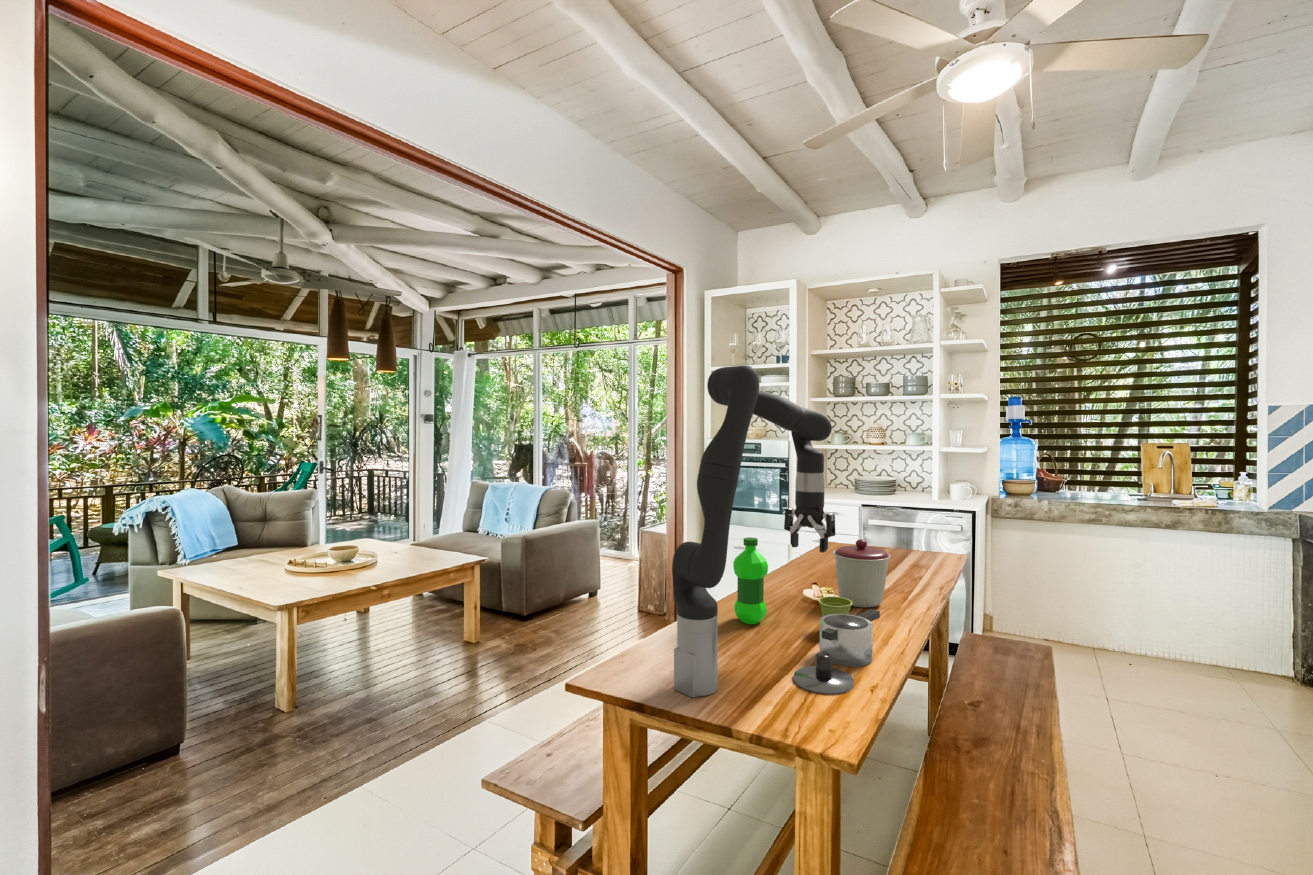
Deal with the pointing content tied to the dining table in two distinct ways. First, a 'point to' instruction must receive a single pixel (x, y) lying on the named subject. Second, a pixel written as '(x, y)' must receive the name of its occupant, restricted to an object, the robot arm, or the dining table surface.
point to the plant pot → (834, 605)
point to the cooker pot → (848, 637)
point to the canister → (861, 573)
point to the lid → (823, 677)
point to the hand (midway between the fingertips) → (808, 549)
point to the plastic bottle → (750, 583)
